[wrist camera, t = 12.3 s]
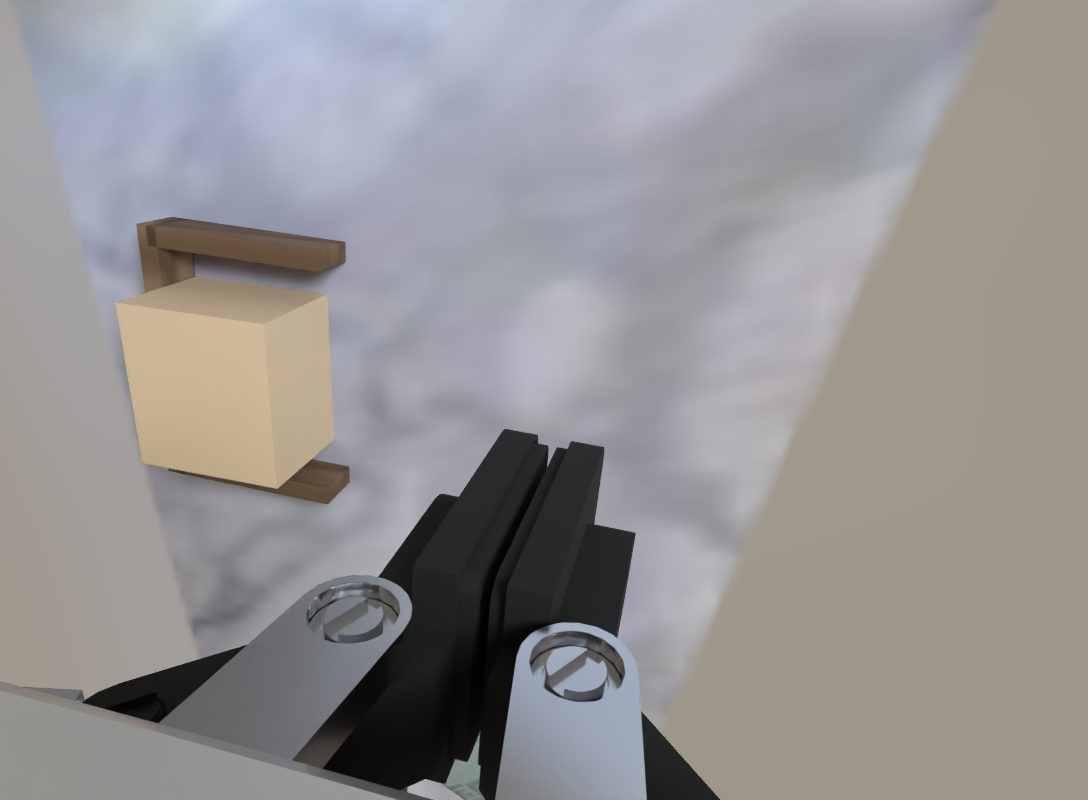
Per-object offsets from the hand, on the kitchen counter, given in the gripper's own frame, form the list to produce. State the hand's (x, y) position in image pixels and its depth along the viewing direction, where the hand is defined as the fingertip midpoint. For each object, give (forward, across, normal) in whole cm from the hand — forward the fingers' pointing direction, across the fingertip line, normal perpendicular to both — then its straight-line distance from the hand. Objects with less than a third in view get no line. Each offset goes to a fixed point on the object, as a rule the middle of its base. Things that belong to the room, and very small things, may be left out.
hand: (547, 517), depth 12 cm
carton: (+29, +24, +11) cm, 40 cm away
